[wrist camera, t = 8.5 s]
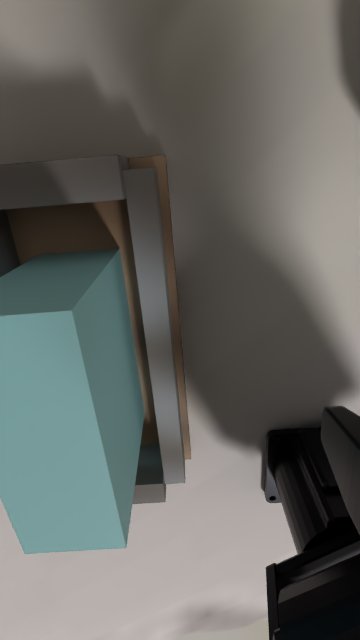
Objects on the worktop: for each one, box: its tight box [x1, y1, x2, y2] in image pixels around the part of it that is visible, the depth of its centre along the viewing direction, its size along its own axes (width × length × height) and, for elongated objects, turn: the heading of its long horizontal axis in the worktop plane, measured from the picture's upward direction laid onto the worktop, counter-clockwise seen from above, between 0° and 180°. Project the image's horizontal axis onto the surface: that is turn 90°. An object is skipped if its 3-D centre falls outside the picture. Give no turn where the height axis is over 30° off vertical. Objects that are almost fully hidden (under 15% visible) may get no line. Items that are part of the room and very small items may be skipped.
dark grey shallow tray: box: [0, 155, 191, 504], centre depth 17 cm, size 18×9×4 cm, turn 4°
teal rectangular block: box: [0, 248, 145, 554], centre depth 14 cm, size 10×4×8 cm, turn 4°
